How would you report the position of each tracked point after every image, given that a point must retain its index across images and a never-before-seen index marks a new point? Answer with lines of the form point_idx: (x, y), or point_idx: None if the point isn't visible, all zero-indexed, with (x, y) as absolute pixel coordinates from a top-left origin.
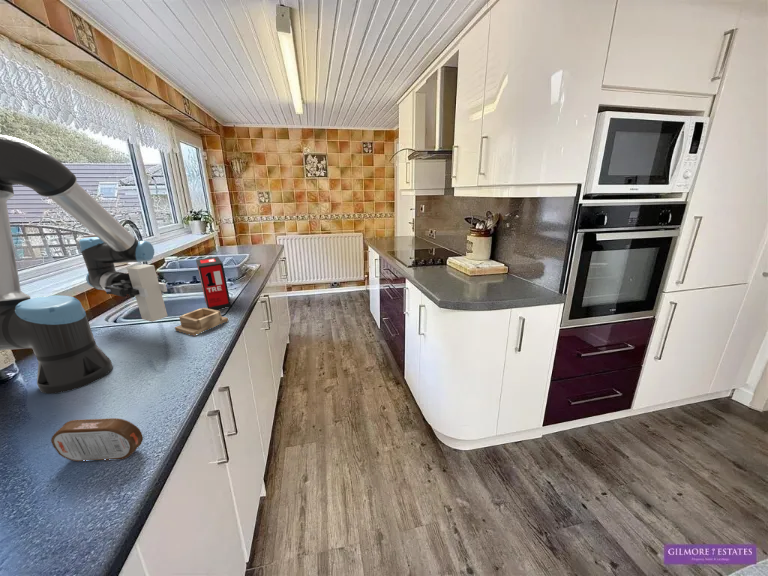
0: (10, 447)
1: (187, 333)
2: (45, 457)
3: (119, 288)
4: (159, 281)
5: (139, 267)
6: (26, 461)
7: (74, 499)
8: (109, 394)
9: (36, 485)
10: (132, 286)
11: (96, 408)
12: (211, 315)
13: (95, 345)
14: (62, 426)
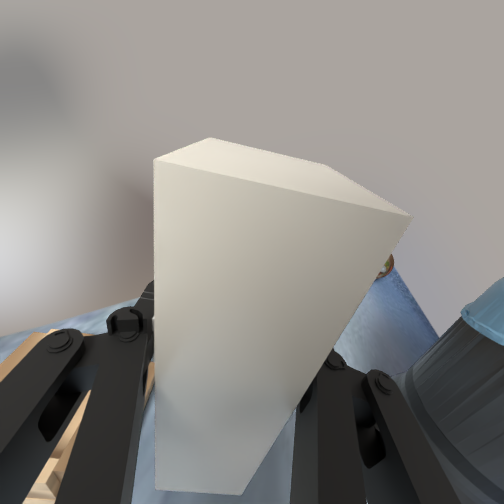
0: (435, 335)
1: (146, 402)
2: (396, 297)
3: (410, 437)
4: (84, 341)
5: (297, 163)
6: (409, 305)
7: None
8: (354, 329)
9: (392, 281)
10: (306, 387)
11: (366, 317)
12: (82, 333)
13: (402, 383)
14: (389, 258)
